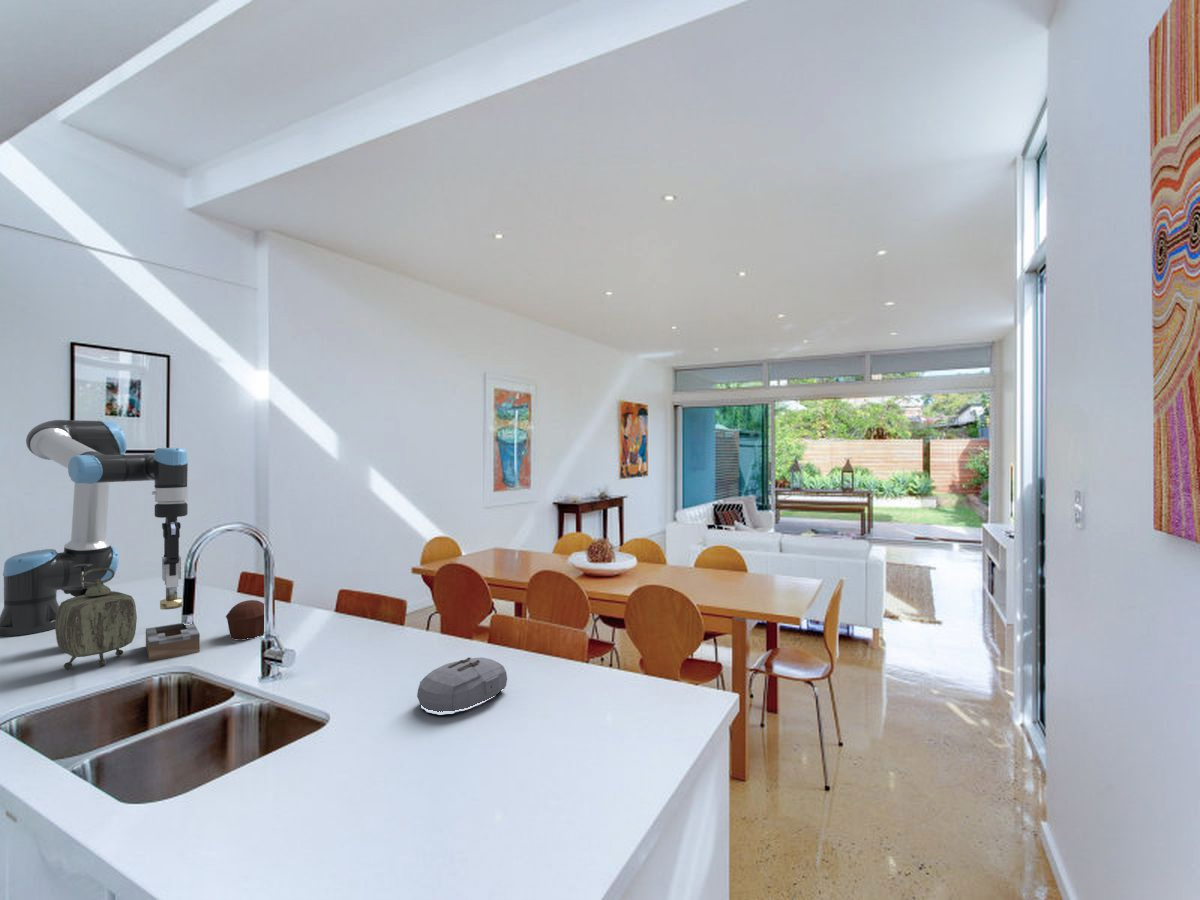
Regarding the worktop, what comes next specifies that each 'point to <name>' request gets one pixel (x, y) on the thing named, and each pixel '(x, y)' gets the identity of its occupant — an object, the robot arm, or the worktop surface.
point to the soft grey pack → (461, 684)
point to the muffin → (246, 620)
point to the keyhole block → (172, 641)
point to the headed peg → (170, 590)
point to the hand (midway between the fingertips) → (171, 585)
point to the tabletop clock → (95, 621)
